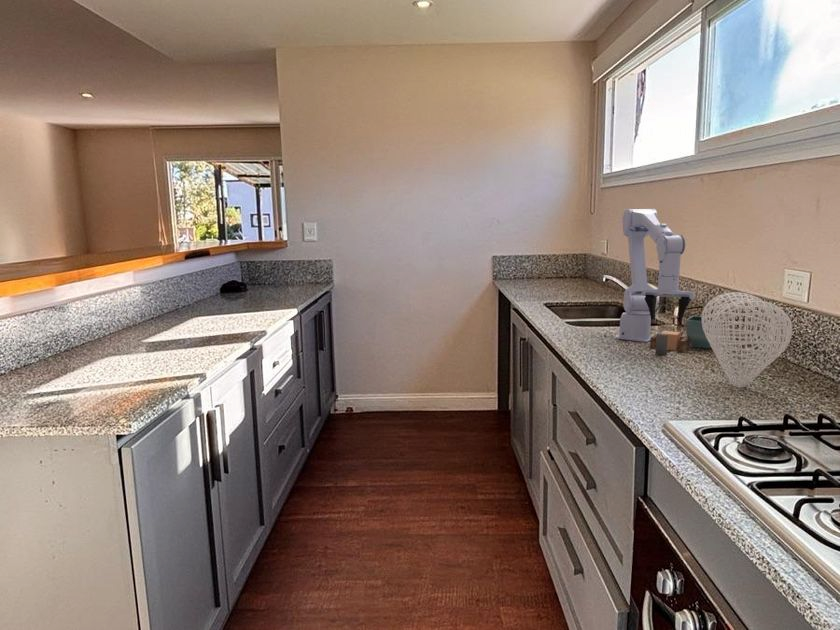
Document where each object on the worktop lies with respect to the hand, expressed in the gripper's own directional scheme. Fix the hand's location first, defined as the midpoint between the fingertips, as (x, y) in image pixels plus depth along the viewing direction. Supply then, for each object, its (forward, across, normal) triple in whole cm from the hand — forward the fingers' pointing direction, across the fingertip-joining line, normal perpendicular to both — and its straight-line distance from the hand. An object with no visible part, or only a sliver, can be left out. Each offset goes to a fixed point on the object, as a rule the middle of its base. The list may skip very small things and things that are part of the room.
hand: (666, 320), depth 172 cm
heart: (+10, +23, -29) cm, 38 cm away
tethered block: (+10, 0, +3) cm, 10 cm away
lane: (+10, 0, +7) cm, 12 cm away
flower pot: (+10, +8, +16) cm, 20 cm away
